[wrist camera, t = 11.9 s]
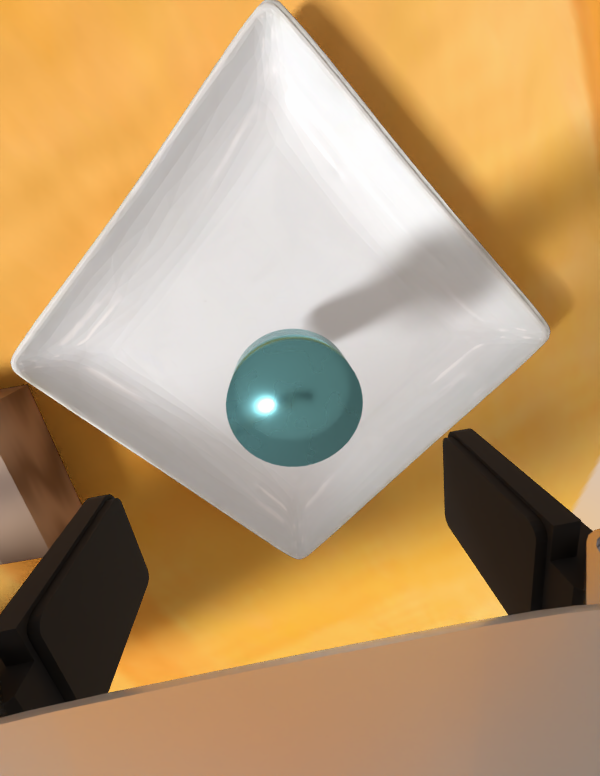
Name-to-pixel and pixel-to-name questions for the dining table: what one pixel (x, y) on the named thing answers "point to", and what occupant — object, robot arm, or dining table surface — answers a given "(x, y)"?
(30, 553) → the block
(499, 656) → the robot arm
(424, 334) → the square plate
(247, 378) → the pin
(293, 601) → the dining table surface
